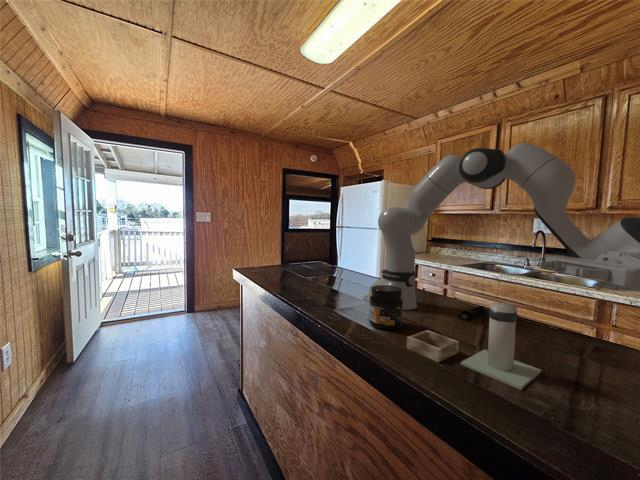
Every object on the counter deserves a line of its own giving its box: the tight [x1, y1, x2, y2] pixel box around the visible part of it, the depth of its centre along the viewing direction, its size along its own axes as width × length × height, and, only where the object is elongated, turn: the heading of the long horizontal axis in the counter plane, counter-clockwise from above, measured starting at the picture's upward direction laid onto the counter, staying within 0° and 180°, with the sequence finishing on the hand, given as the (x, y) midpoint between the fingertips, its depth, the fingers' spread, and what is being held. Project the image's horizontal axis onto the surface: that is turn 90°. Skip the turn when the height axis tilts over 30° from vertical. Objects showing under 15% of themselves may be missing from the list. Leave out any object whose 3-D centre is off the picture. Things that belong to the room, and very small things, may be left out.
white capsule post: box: [487, 301, 518, 371], centre depth 63 cm, size 5×5×14 cm
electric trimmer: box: [458, 305, 486, 322], centre depth 101 cm, size 4×16×3 cm, turn 128°
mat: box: [460, 349, 542, 391], centre depth 64 cm, size 12×12×1 cm
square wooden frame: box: [406, 329, 460, 363], centre depth 72 cm, size 9×9×3 cm
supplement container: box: [368, 285, 404, 331], centre depth 89 cm, size 10×10×12 cm
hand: (558, 268), depth 63 cm, fingers open, 8 cm apart
